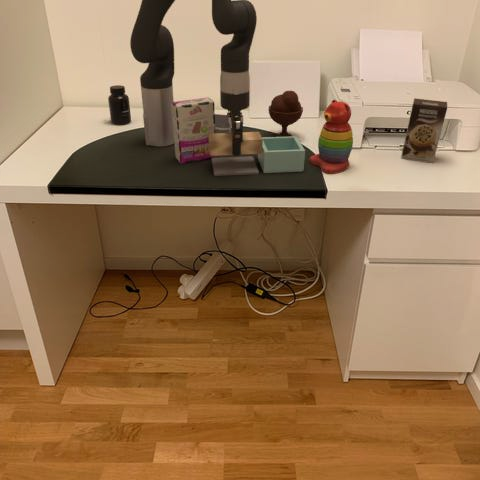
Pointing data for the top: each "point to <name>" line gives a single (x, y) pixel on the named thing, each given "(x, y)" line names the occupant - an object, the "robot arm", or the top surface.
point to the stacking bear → (334, 139)
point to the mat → (234, 166)
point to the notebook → (221, 122)
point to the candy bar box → (193, 128)
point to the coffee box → (424, 130)
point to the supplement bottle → (119, 106)
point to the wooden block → (223, 143)
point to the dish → (281, 155)
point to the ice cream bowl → (285, 111)
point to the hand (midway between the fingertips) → (235, 150)
